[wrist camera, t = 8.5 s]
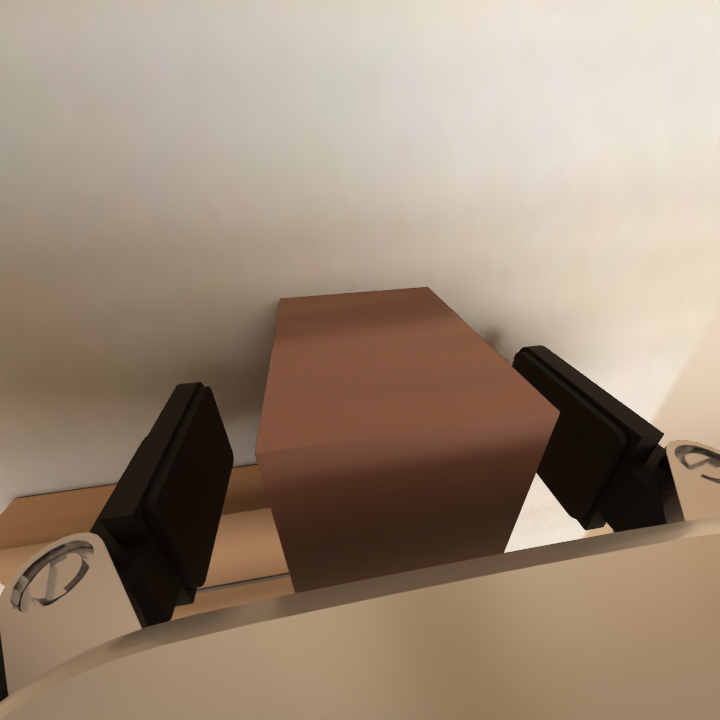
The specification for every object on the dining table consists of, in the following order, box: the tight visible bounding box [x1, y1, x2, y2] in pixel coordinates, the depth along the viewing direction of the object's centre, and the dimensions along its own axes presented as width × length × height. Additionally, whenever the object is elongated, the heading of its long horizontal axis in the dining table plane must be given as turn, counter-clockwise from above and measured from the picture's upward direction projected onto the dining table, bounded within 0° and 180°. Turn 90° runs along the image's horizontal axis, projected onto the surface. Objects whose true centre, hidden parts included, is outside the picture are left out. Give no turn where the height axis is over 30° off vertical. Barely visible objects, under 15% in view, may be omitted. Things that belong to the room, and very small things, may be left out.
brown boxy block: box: [255, 287, 560, 593], centre depth 10 cm, size 12×4×6 cm, turn 1°
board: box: [0, 465, 295, 621], centre depth 14 cm, size 10×16×2 cm, turn 92°
